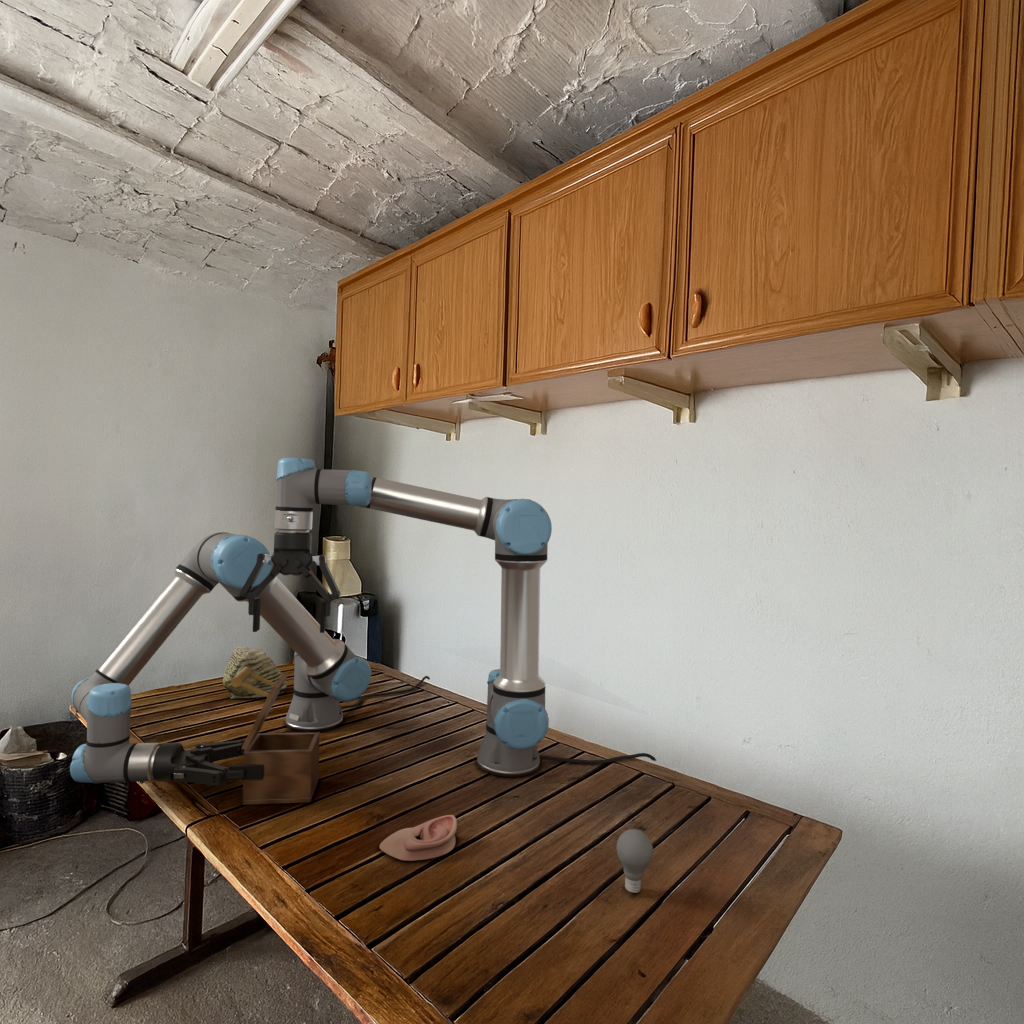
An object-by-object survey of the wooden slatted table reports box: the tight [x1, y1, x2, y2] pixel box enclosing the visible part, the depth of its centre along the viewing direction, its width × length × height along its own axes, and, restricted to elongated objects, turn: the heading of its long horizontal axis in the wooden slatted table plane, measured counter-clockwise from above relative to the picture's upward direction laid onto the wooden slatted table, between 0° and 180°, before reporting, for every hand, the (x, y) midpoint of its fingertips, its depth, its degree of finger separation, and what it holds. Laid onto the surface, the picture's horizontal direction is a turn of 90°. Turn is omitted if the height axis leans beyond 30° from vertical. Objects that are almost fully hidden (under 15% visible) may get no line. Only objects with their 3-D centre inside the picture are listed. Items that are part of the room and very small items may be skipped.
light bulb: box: [615, 828, 654, 894], centre depth 106 cm, size 6×6×10 cm
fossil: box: [222, 646, 288, 699], centre depth 198 cm, size 9×18×15 cm, turn 132°
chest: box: [242, 731, 321, 806], centre depth 135 cm, size 13×10×11 cm
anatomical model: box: [379, 814, 458, 862], centre depth 117 cm, size 13×4×12 cm
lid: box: [231, 667, 289, 750], centre depth 134 cm, size 14×10×9 cm
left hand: (269, 760), depth 134 cm, fingers closed on chest, 10 cm apart
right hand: (289, 631), depth 134 cm, fingers open, 13 cm apart
